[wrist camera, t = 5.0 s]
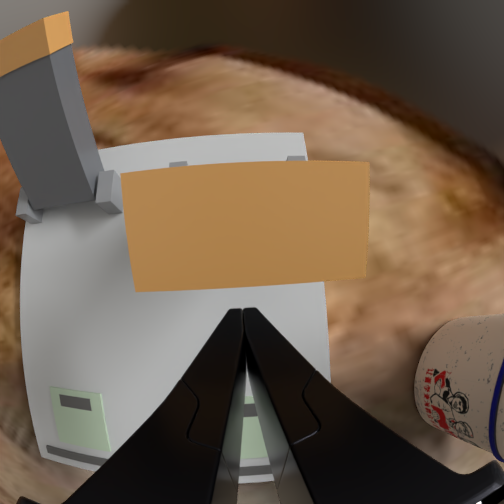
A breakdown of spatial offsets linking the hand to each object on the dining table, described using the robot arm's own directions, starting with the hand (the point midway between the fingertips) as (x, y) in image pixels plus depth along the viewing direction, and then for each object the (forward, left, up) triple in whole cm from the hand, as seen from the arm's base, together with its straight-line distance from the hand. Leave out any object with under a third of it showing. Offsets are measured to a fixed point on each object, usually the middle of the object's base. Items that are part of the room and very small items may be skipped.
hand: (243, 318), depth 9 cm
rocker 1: (+8, +11, -7) cm, 15 cm away
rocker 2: (+8, 0, -7) cm, 11 cm away
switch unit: (+1, +5, -9) cm, 10 cm away
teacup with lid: (-7, -16, -9) cm, 20 cm away
